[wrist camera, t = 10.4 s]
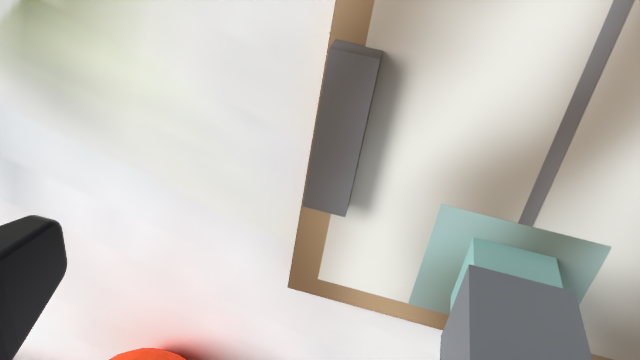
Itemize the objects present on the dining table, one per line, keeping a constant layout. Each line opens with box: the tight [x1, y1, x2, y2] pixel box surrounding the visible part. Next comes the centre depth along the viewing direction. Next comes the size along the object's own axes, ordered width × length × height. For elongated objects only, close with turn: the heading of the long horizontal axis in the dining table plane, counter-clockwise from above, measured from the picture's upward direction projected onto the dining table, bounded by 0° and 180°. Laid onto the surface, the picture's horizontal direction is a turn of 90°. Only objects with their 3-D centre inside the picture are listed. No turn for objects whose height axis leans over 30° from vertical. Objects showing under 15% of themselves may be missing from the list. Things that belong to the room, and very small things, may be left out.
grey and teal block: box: [440, 237, 592, 360], centre depth 18 cm, size 4×4×7 cm
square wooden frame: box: [288, 0, 640, 360], centre depth 19 cm, size 16×16×2 cm
